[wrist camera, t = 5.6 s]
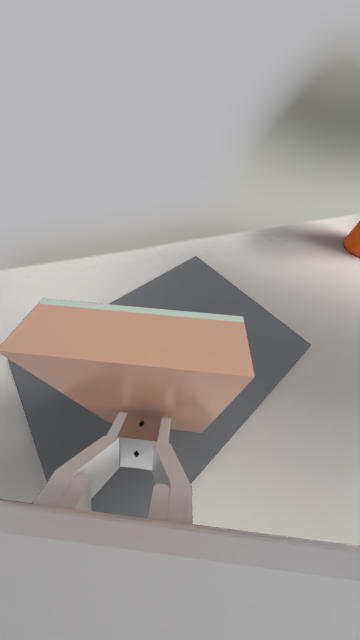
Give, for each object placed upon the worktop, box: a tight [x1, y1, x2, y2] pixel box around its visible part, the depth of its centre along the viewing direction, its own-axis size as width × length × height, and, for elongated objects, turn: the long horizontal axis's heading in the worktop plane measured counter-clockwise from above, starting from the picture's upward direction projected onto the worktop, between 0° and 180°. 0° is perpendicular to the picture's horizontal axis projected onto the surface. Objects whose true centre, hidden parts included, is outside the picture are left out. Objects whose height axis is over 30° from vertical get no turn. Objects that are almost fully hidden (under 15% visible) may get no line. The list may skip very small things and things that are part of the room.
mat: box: [8, 256, 311, 518], centre depth 18 cm, size 26×19×1 cm
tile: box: [0, 299, 255, 433], centre depth 11 cm, size 2×8×12 cm, turn 84°
